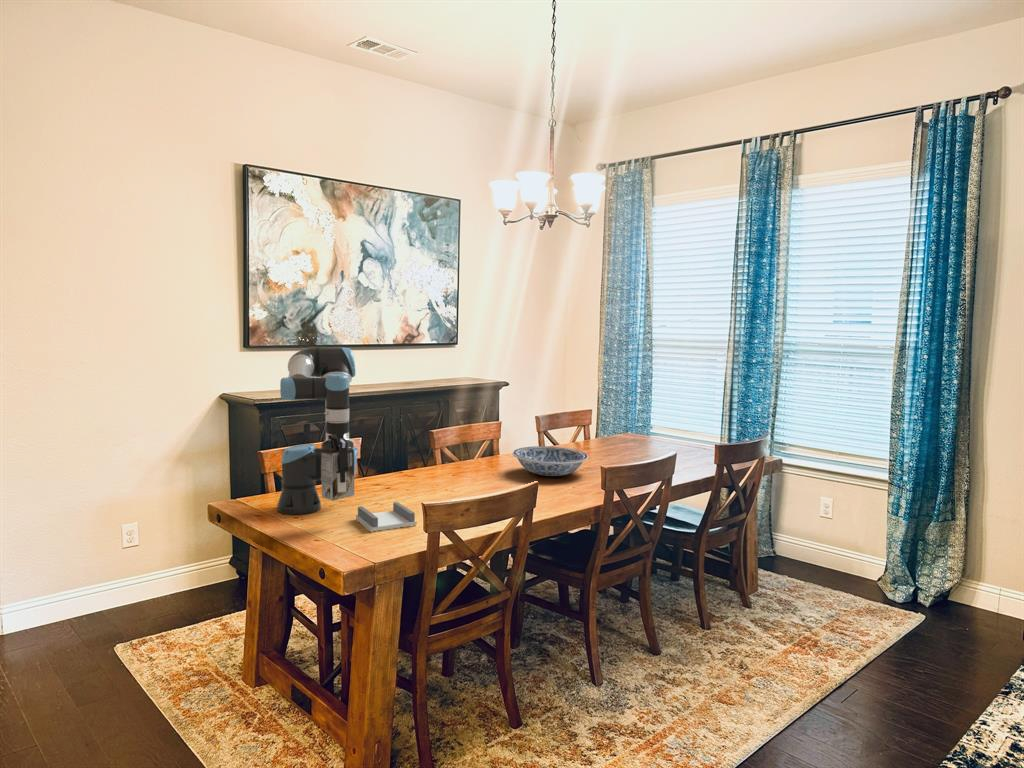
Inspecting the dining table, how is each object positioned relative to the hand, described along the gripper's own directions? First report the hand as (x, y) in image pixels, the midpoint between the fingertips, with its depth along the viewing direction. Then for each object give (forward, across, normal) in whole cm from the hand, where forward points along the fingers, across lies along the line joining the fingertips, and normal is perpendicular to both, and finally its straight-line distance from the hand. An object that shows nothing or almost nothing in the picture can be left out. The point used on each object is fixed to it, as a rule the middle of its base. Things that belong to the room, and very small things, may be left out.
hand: (337, 488), depth 236 cm
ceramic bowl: (+15, -34, +108) cm, 114 cm away
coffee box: (+3, 0, 0) cm, 3 cm away
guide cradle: (+13, +3, +16) cm, 21 cm away
